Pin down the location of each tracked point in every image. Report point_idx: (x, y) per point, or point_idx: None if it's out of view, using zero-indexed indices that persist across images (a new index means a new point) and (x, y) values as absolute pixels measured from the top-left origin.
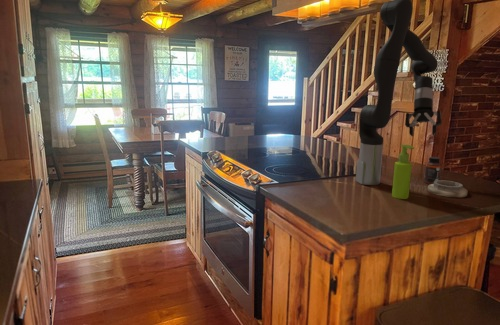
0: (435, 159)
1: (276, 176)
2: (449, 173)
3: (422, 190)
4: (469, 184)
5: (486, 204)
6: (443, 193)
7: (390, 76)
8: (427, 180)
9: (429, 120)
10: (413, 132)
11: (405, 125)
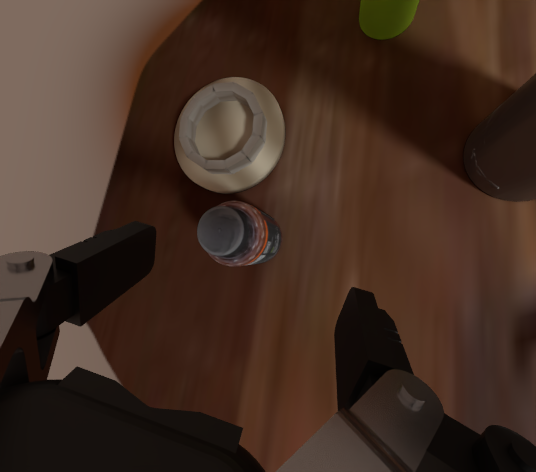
0: (220, 206)
1: None
2: None
3: (302, 126)
4: None
5: (160, 59)
6: (247, 80)
7: None
8: (272, 218)
9: (20, 304)
10: (336, 361)
11: (528, 443)
